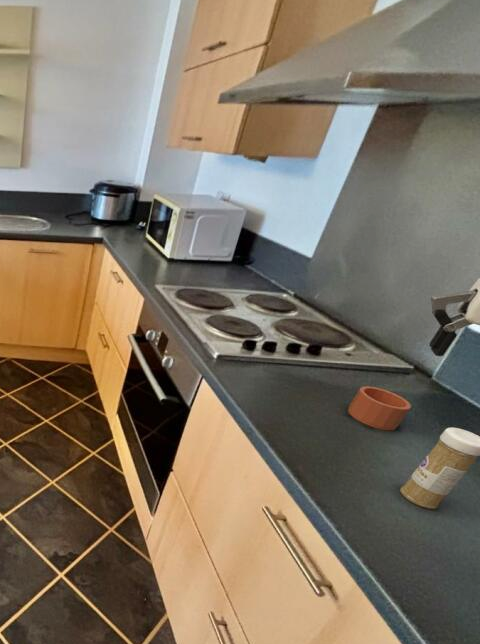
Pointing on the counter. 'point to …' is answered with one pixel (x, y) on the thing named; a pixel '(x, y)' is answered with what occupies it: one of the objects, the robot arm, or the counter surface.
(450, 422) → the counter surface
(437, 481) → the sprinkles bottle
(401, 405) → the holder
